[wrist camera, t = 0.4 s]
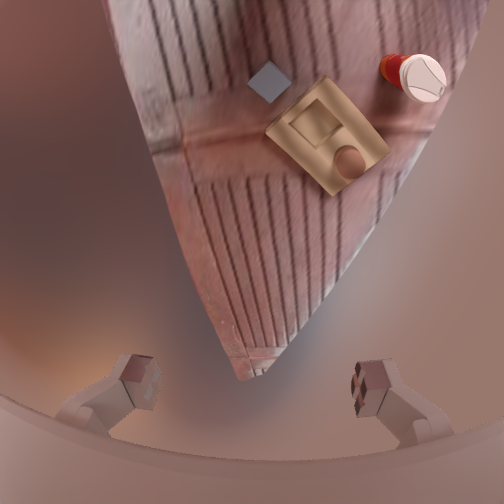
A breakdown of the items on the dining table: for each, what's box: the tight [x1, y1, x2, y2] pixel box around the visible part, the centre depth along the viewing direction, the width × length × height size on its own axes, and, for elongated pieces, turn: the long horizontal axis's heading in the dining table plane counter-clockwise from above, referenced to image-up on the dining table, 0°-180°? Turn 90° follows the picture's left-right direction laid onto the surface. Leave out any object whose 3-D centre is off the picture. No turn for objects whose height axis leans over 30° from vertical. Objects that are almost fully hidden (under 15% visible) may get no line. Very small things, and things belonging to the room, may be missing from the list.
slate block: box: [247, 60, 292, 103], centre depth 43 cm, size 5×5×6 cm
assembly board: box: [265, 75, 391, 197], centre depth 48 cm, size 15×18×8 cm
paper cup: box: [380, 54, 446, 104], centre depth 35 cm, size 8×8×14 cm
